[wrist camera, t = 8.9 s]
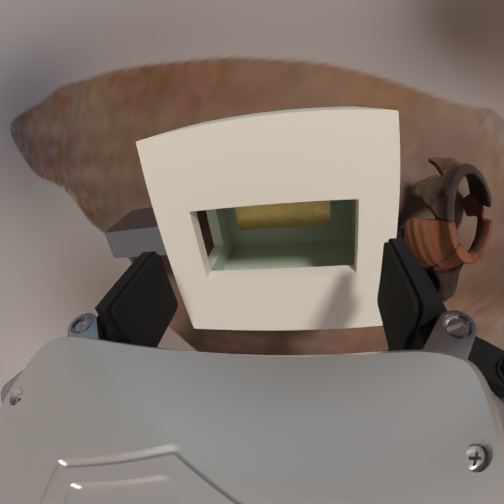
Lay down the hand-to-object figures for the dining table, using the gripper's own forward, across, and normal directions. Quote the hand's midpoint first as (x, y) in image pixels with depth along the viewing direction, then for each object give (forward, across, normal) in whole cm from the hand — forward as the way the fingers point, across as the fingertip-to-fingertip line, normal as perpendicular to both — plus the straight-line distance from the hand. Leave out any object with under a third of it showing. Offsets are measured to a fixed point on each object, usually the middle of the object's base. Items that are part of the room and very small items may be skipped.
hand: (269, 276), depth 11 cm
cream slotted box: (+13, 0, 0) cm, 13 cm away
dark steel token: (+13, +12, +2) cm, 18 cm away
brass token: (+12, 0, 0) cm, 12 cm away
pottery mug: (+13, -12, +3) cm, 18 cm away
